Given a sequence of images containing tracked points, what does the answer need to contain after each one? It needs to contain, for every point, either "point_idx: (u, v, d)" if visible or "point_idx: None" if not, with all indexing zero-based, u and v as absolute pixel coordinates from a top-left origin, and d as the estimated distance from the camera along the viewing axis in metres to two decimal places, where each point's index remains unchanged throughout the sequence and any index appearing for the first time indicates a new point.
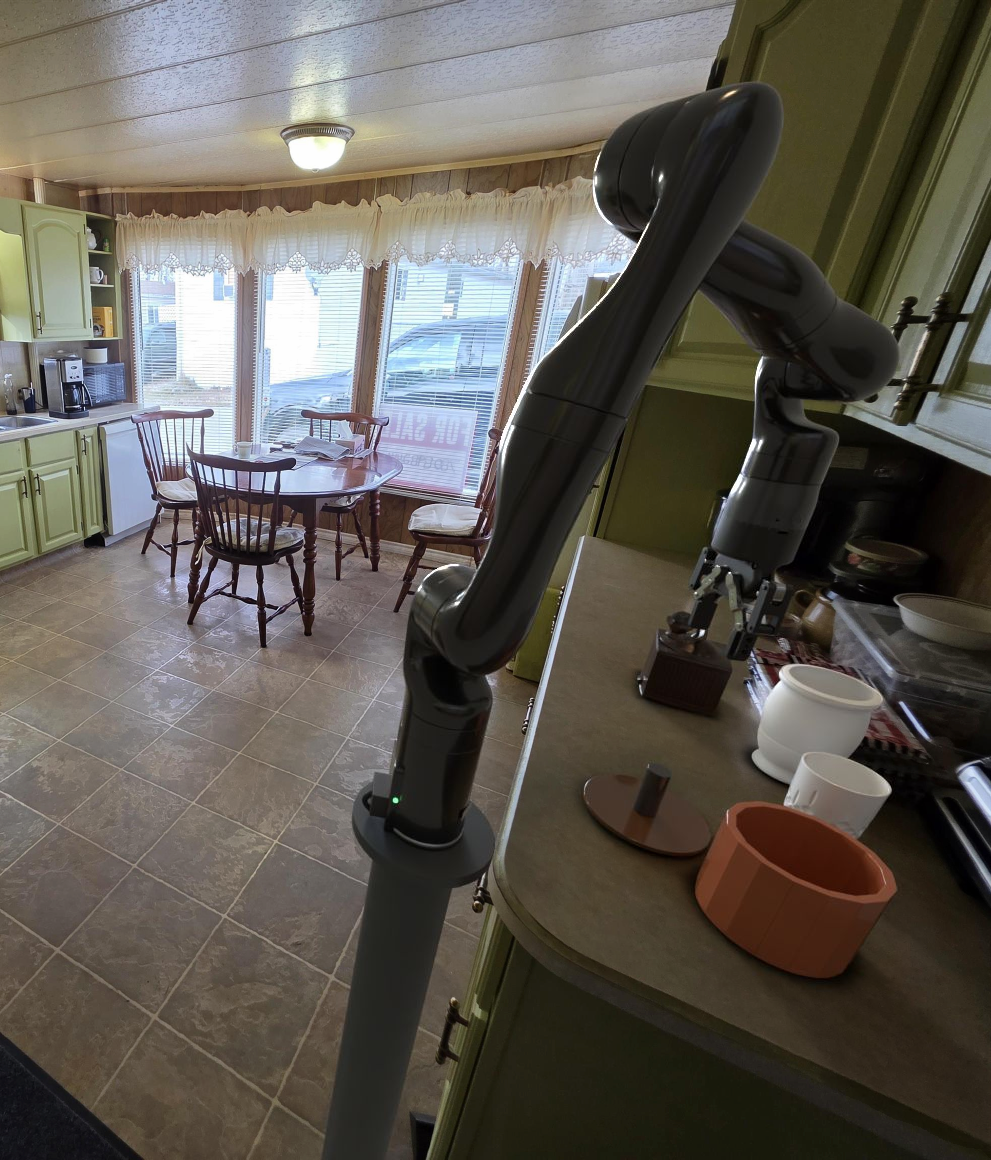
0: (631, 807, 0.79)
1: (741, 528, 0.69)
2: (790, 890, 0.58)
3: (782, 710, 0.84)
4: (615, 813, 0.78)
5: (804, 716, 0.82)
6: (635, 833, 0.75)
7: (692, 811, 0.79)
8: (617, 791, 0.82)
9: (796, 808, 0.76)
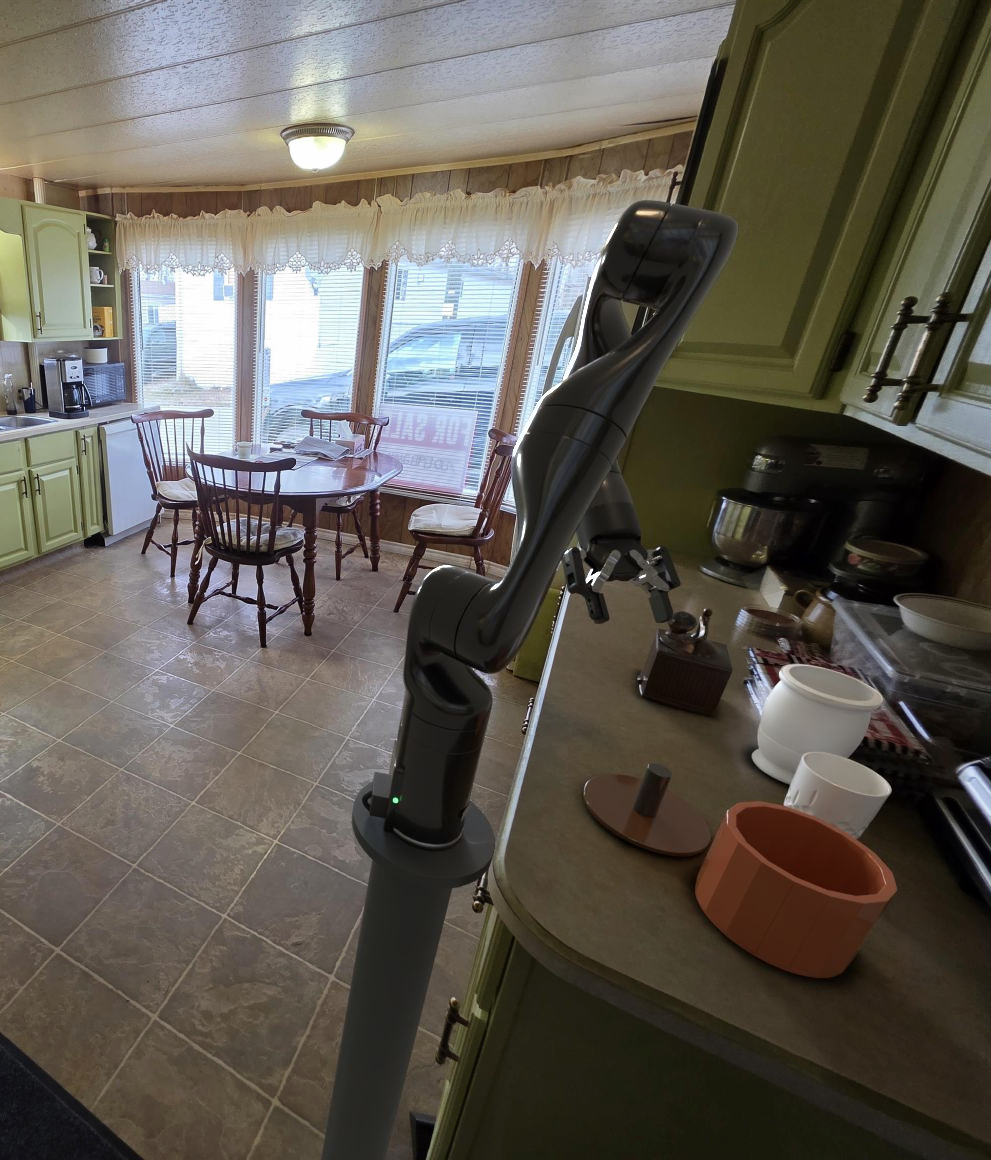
0: (631, 807, 0.79)
1: (633, 508, 0.83)
2: (790, 890, 0.58)
3: (782, 710, 0.84)
4: (615, 813, 0.78)
5: (804, 716, 0.82)
6: (635, 833, 0.75)
7: (692, 811, 0.79)
8: (617, 791, 0.82)
9: (796, 808, 0.76)
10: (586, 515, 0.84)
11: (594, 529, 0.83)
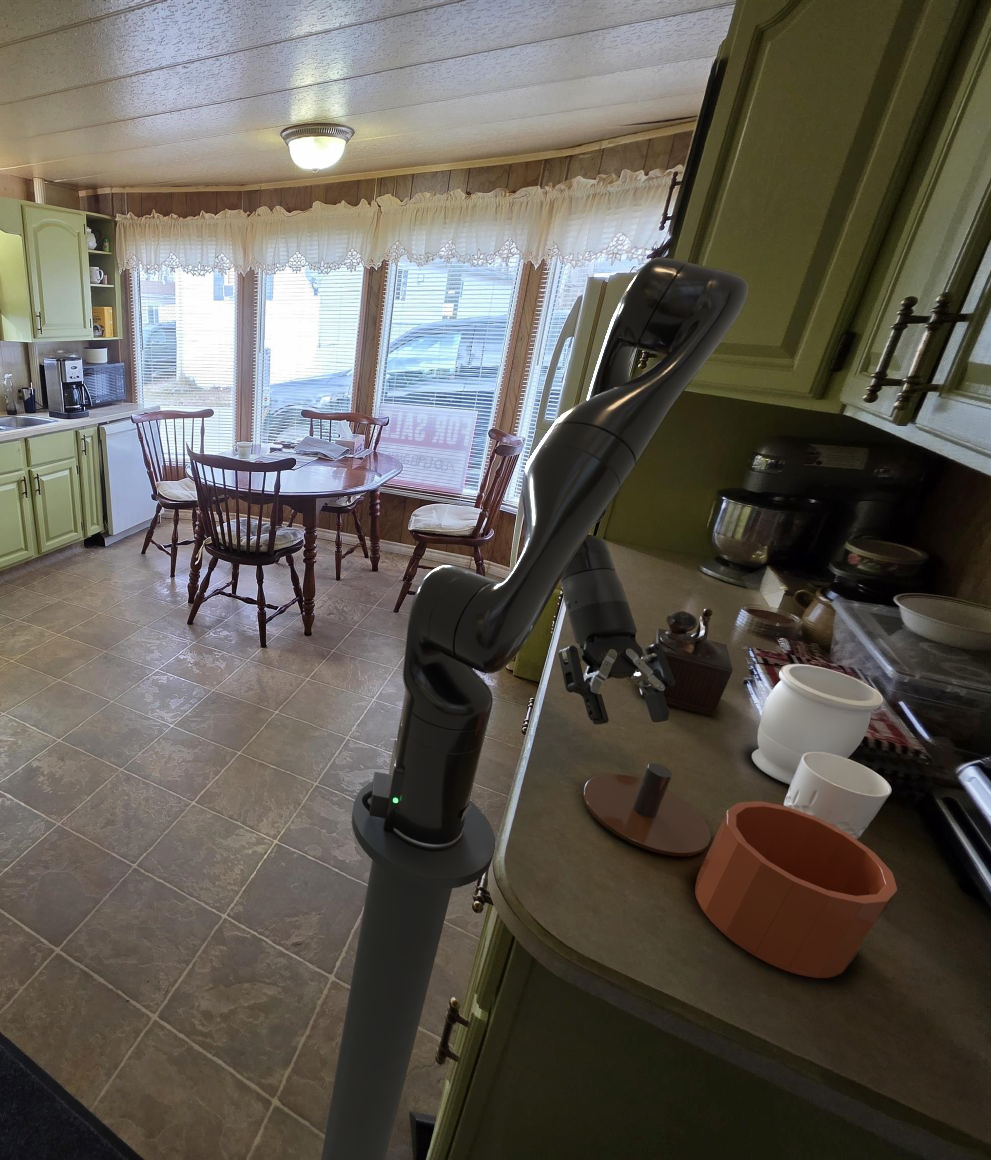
0: (631, 807, 0.79)
1: (628, 606, 0.84)
2: (790, 890, 0.58)
3: (782, 710, 0.84)
4: (615, 813, 0.78)
5: (804, 716, 0.82)
6: (635, 833, 0.75)
7: (692, 811, 0.79)
8: (617, 791, 0.82)
9: (796, 808, 0.76)
10: (582, 612, 0.85)
11: (590, 627, 0.84)
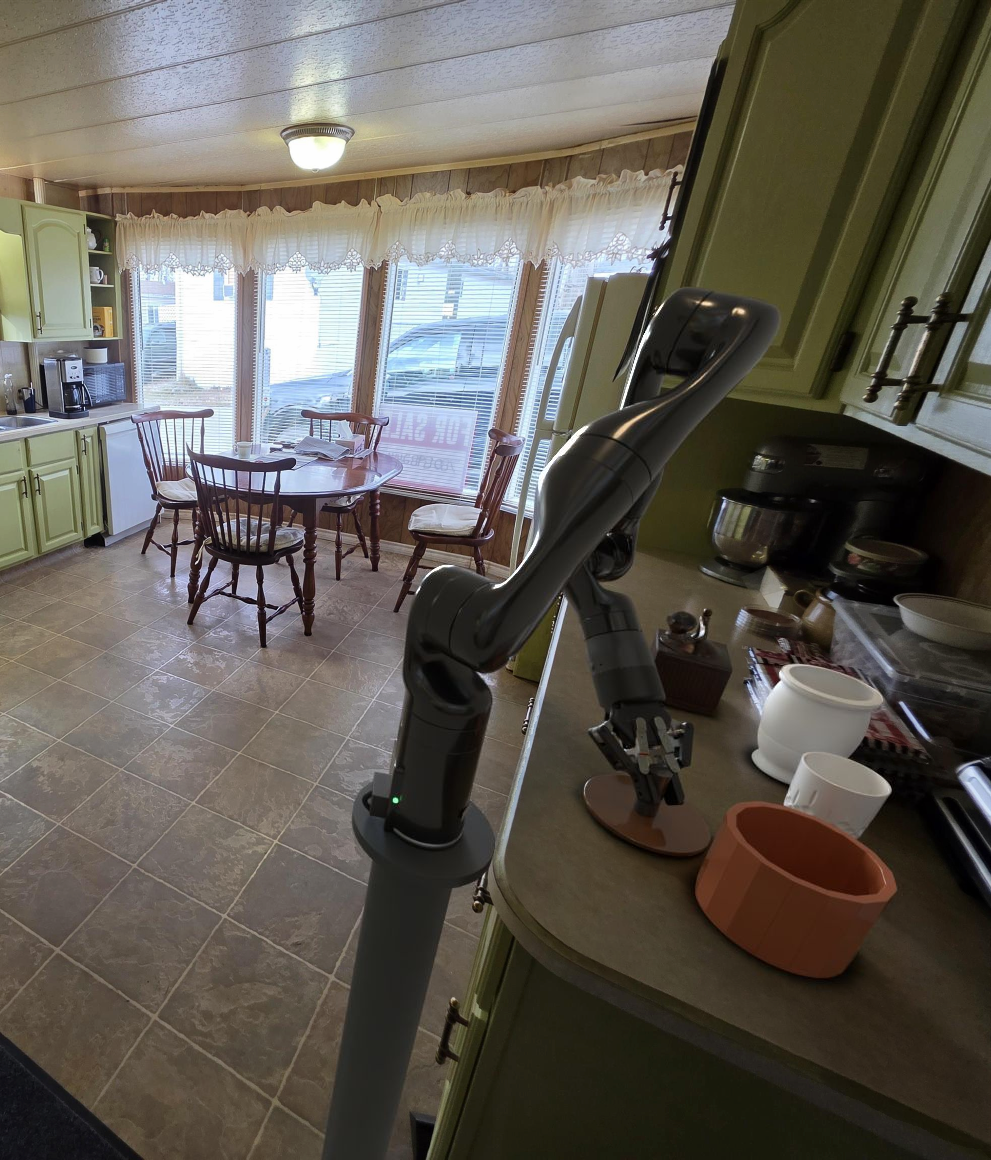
0: (631, 807, 0.79)
1: (656, 671, 0.79)
2: (790, 890, 0.58)
3: (782, 710, 0.84)
4: (615, 813, 0.78)
5: (804, 716, 0.82)
6: (635, 833, 0.75)
7: (692, 811, 0.79)
8: (617, 791, 0.82)
9: (796, 808, 0.76)
10: (607, 676, 0.80)
11: (617, 693, 0.79)
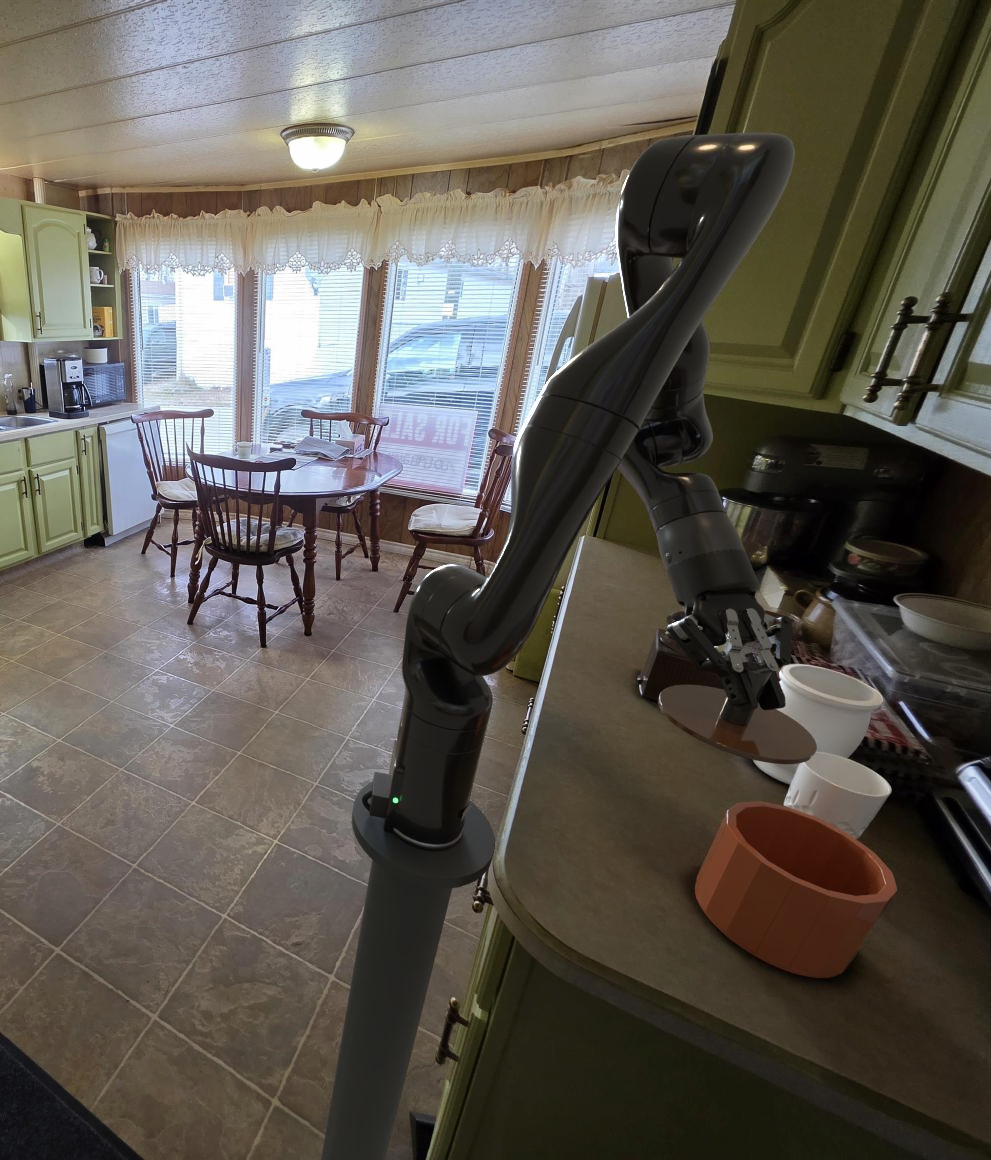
0: (718, 716, 0.68)
1: (747, 557, 0.68)
2: (790, 890, 0.58)
3: (782, 710, 0.84)
4: (700, 721, 0.67)
5: (804, 716, 0.82)
6: (729, 740, 0.64)
7: (788, 720, 0.68)
8: (698, 700, 0.71)
9: (796, 808, 0.76)
10: (689, 564, 0.69)
11: (702, 582, 0.68)
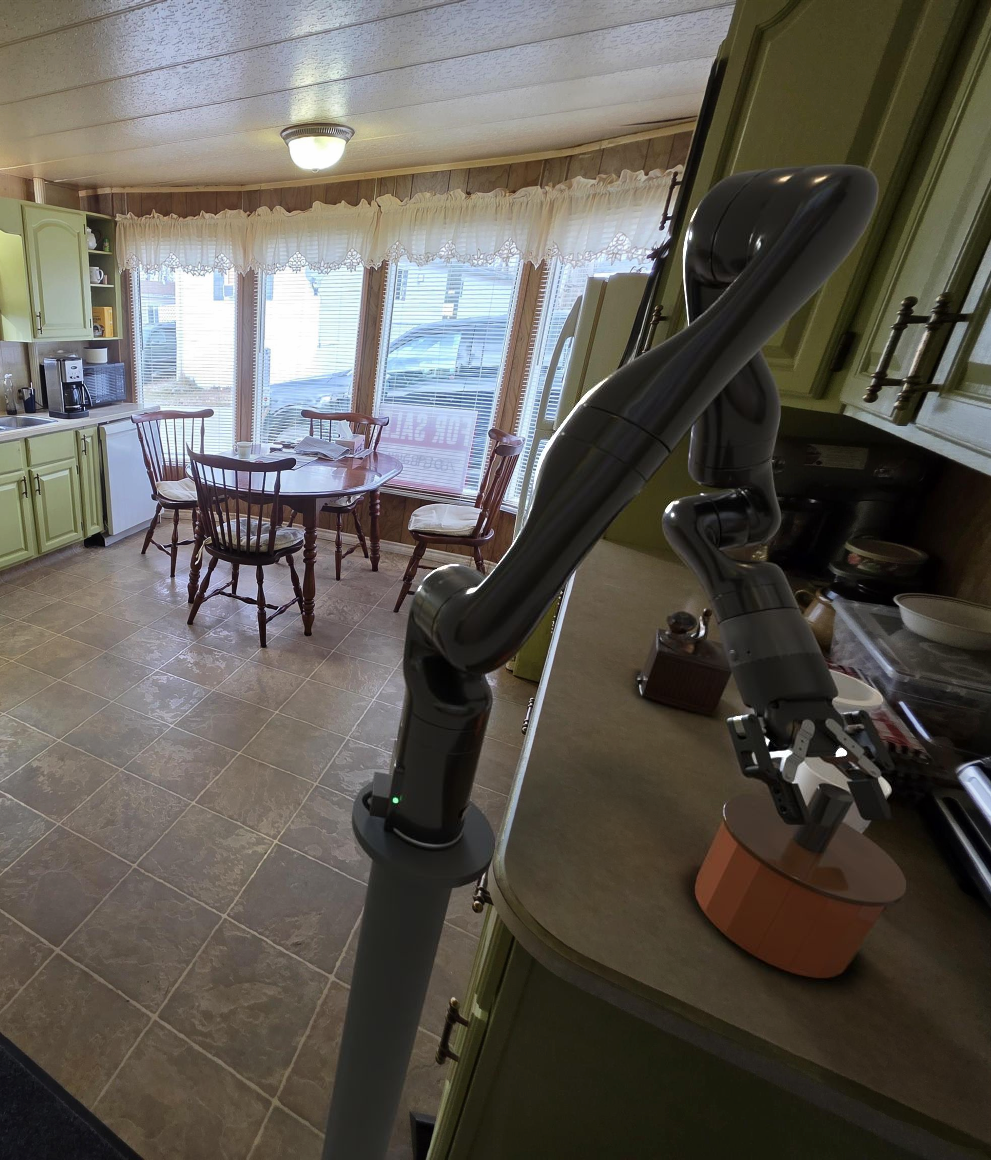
0: (790, 838, 0.62)
1: (824, 660, 0.62)
2: (790, 890, 0.58)
3: None
4: (773, 847, 0.61)
5: None
6: (807, 874, 0.58)
7: (869, 844, 0.62)
8: (766, 817, 0.65)
9: None
10: (760, 667, 0.63)
11: (775, 689, 0.61)
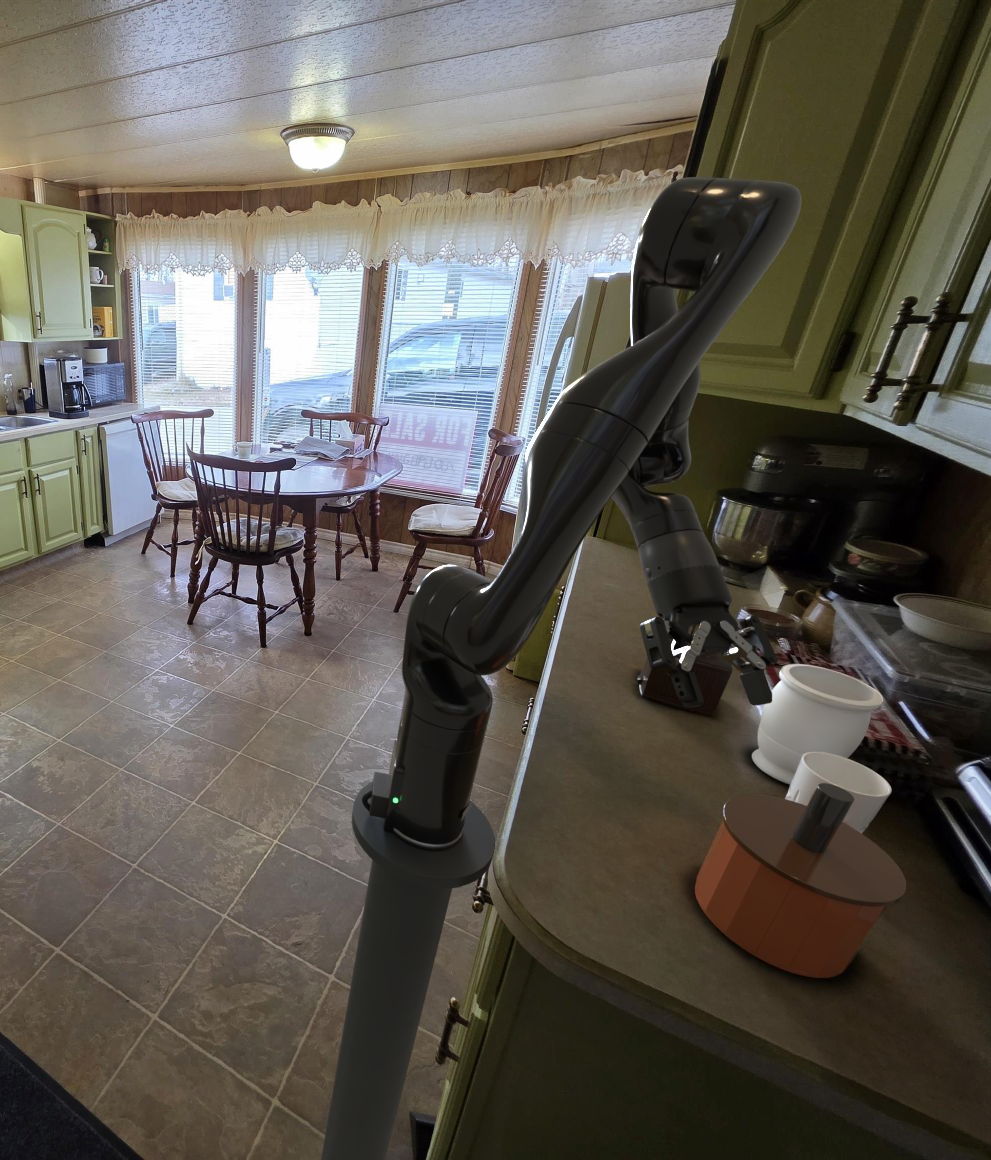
0: (790, 838, 0.62)
1: (721, 573, 0.73)
2: (790, 890, 0.58)
3: (782, 710, 0.84)
4: (773, 847, 0.61)
5: (804, 716, 0.82)
6: (807, 874, 0.58)
7: (869, 844, 0.62)
8: (766, 817, 0.65)
9: None
10: (667, 579, 0.74)
11: (678, 596, 0.73)
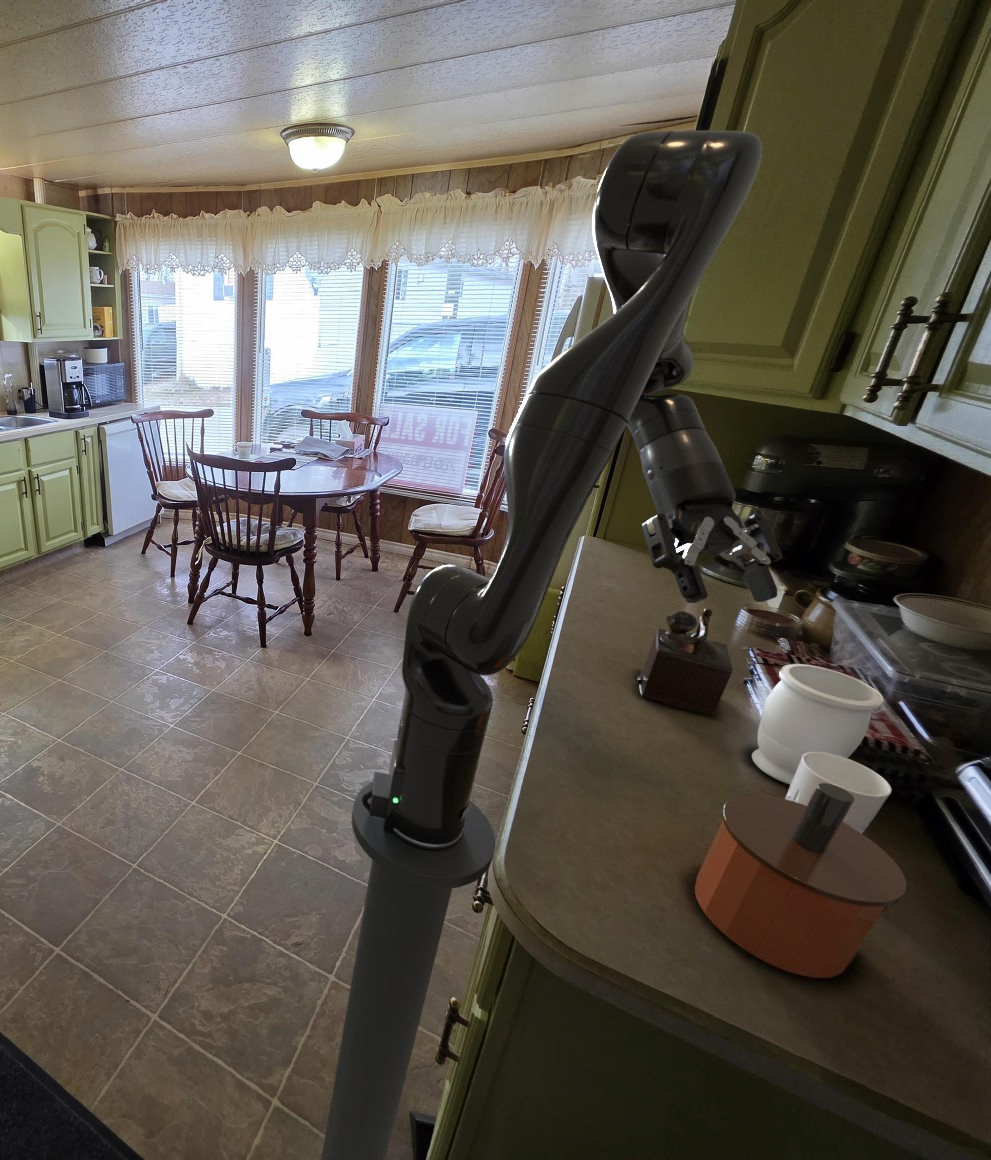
0: (790, 838, 0.62)
1: None
2: (790, 890, 0.58)
3: (782, 710, 0.84)
4: (773, 847, 0.61)
5: (804, 716, 0.82)
6: (807, 874, 0.58)
7: (869, 844, 0.62)
8: (766, 817, 0.65)
9: None
10: (670, 478, 0.73)
11: (681, 493, 0.71)
